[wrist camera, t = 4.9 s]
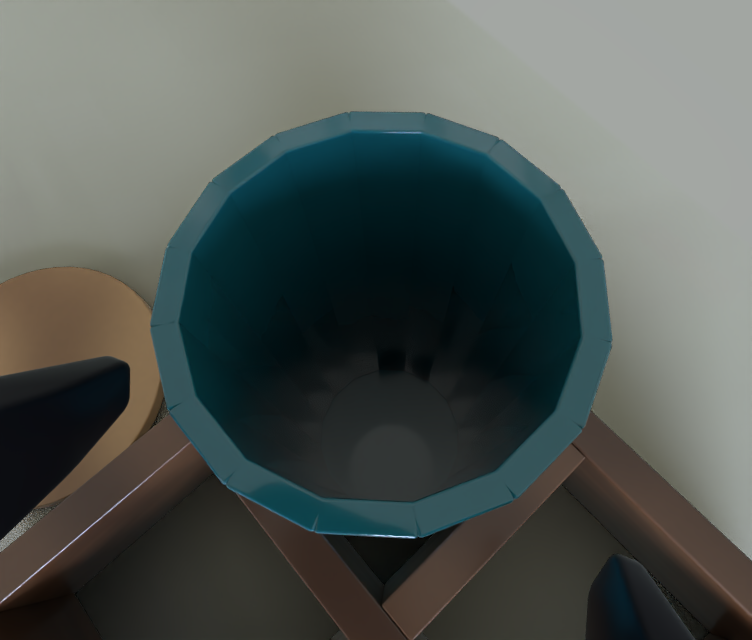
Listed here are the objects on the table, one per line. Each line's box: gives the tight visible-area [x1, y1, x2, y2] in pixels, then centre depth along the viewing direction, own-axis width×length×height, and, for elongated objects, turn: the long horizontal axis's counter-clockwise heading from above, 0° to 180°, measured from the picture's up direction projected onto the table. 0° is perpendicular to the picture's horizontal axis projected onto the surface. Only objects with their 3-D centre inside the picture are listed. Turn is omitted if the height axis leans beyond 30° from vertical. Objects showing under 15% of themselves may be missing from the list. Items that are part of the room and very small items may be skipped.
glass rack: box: [0, 411, 752, 640], centre depth 15 cm, size 16×16×4 cm
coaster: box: [0, 267, 164, 510], centre depth 19 cm, size 9×9×1 cm
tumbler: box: [150, 111, 612, 539], centre depth 12 cm, size 5×5×13 cm
